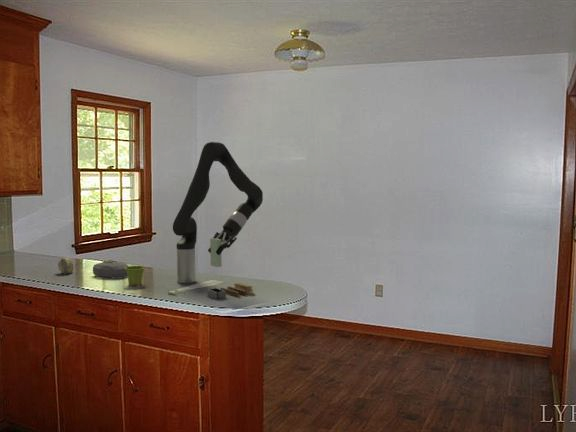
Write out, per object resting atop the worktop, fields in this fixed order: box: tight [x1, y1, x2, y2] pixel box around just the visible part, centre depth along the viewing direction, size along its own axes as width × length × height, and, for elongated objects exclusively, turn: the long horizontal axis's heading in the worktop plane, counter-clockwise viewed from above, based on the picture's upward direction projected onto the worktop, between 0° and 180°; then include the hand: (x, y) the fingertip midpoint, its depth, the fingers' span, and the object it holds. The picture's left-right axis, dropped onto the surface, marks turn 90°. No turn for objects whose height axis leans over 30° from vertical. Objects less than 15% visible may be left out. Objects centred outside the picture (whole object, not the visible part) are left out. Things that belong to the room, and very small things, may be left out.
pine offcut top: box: [233, 282, 253, 291], centre depth 237 cm, size 3×10×2 cm, turn 42°
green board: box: [209, 237, 223, 268], centre depth 227 cm, size 2×6×12 cm, turn 42°
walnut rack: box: [220, 285, 256, 299], centre depth 236 cm, size 10×14×3 cm
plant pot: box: [125, 265, 145, 287], centre depth 258 cm, size 9×9×9 cm
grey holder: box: [206, 287, 227, 300], centre depth 228 cm, size 5×8×4 cm, turn 42°
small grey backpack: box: [92, 259, 129, 279], centre depth 279 cm, size 15×8×20 cm
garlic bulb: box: [57, 256, 75, 275], centre depth 287 cm, size 9×8×10 cm
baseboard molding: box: [167, 279, 227, 296], centre depth 249 cm, size 31×3×12 cm
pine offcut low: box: [231, 285, 254, 296], centre depth 237 cm, size 4×12×2 cm, turn 42°
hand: (213, 252), depth 226 cm, fingers closed on green board, 5 cm apart
